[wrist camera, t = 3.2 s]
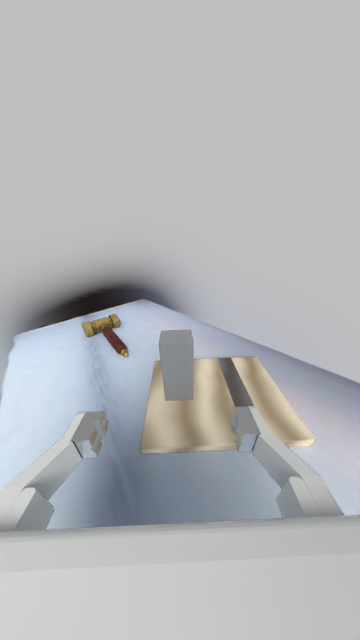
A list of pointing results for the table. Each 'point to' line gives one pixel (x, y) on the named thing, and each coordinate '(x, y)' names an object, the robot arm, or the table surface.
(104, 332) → the gavel
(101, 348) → the table surface
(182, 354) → the tall grey pillar
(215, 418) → the board
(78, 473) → the table surface
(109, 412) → the table surface
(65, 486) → the table surface
